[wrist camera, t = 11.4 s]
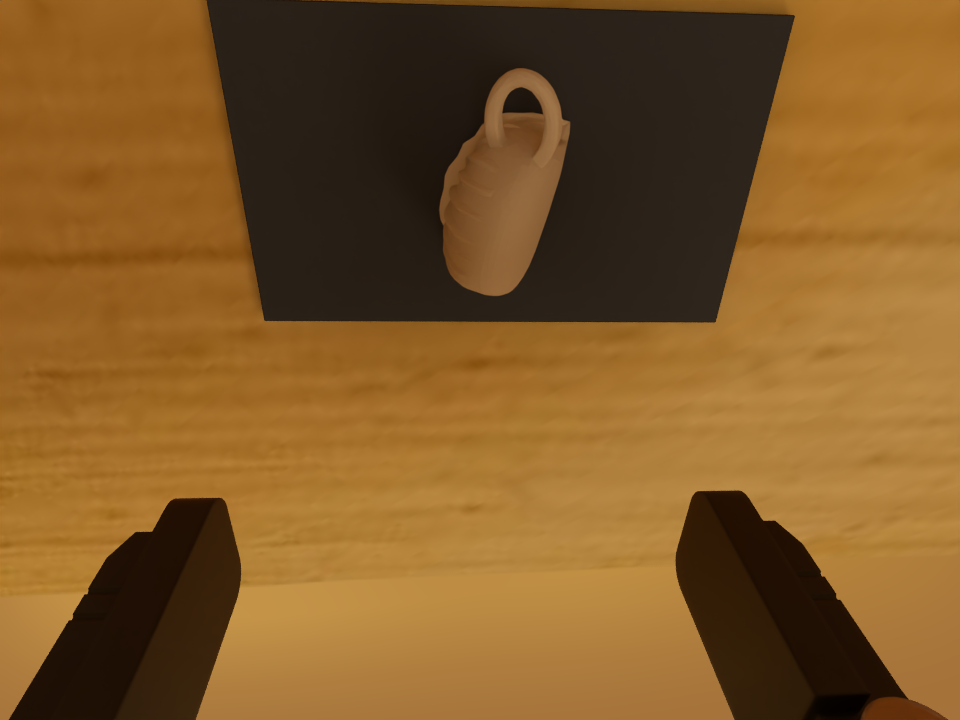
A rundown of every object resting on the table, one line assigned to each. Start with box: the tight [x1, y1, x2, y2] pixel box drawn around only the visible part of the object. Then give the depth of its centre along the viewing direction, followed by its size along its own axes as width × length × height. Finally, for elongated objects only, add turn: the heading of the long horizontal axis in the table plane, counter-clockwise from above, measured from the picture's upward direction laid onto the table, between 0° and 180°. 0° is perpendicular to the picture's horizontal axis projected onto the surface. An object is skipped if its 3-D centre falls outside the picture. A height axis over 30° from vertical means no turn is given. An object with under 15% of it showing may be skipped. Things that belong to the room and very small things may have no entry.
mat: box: [207, 0, 795, 322], centre depth 23 cm, size 20×12×1 cm, turn 88°
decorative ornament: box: [439, 68, 570, 296], centre depth 21 cm, size 4×8×5 cm, turn 162°
